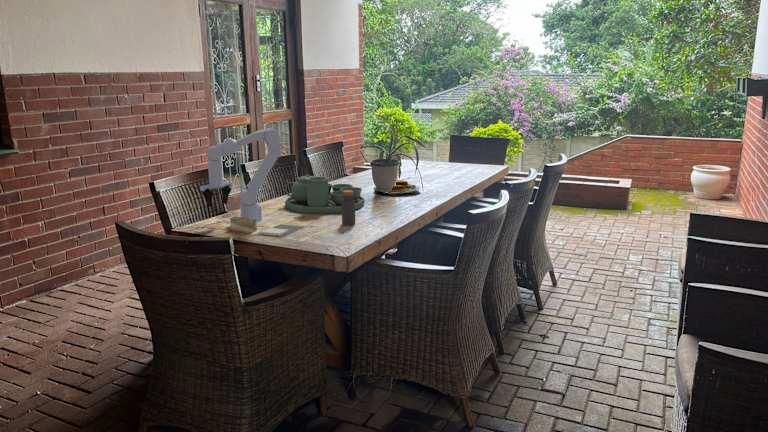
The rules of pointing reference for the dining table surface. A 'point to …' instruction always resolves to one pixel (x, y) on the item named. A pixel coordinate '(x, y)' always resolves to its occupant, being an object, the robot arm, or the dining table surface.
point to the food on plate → (403, 187)
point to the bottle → (348, 208)
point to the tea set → (319, 195)
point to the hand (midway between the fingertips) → (217, 205)
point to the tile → (274, 232)
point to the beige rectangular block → (243, 224)
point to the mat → (287, 227)
